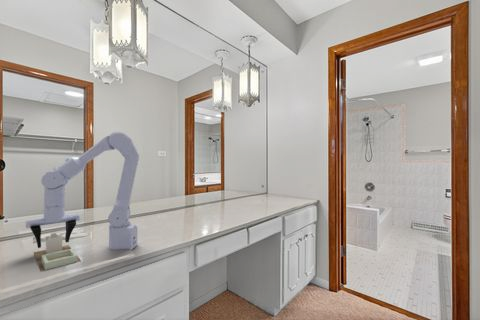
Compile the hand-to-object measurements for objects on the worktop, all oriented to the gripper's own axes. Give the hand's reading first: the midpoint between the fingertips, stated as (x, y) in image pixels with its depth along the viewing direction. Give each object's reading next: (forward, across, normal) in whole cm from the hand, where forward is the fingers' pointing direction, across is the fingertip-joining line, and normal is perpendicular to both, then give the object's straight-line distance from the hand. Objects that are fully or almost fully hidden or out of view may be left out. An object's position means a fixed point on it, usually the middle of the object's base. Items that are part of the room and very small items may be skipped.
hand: (53, 244), depth 81 cm
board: (+4, 0, +6) cm, 7 cm away
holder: (+4, 0, +11) cm, 12 cm away
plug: (+3, 0, 0) cm, 3 cm away
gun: (+4, -5, -17) cm, 18 cm away
